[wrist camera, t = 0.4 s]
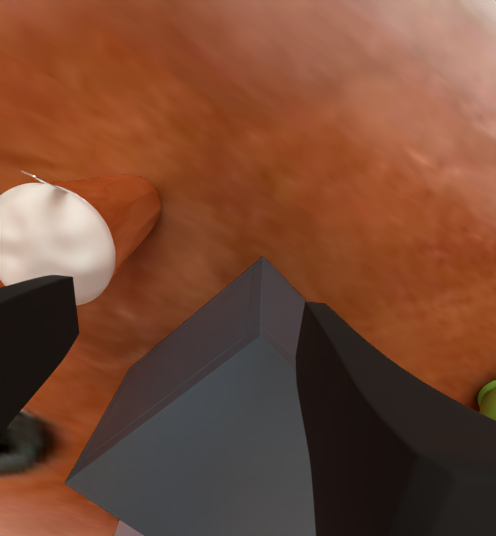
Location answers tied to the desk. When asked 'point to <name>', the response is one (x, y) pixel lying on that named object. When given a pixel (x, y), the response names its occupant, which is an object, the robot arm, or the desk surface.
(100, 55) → the desk surface
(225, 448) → the cabinet
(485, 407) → the apple
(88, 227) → the milkshake
